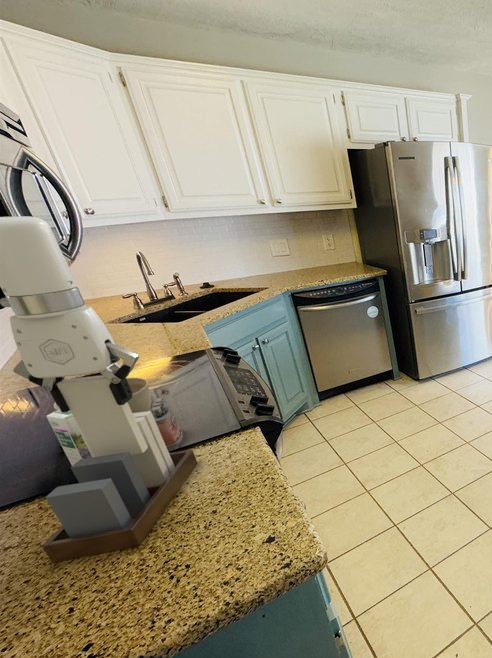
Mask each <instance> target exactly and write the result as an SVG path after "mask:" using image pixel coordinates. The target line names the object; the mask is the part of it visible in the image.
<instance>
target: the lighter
mask: <svg viewBox="0 0 492 658" xmlns="http://www.w3.org/2000/svg"><path fill="white" fill-rule="evenodd" d="M151 407H152V411H153V412H152V415H153V417H154V420H155V422H156V424H157V426H158V429H159V431H160V433H161V436H162V438H163V440H164V443H165V445H166V447H167V450H171V449H174V448H176V447H178V446H179V445H180V443H181V442H182V439H183V436H184V435H183V434H184V433H183V431H182V429H181V428H180V426H179V424H178V422H177V417H176V415H175V413H174V412H173V411H174V410H173V406H172V404H166V401H165V398H164V397H158V398H157V399H156V402H155V403H152V404H151ZM181 434H182V435H181Z"/></svg>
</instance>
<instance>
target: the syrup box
mask: <svg viewBox="0 0 492 658" xmlns="http://www.w3.org/2000/svg"><path fill="white" fill-rule="evenodd" d="M46 419H47V421H48V423H49V424H50V426H51V429H52V430H53V432H54V434H55V436H56V437H57V440H58V442H59V444H60V446H61V447H62V449H63V452H64V454H65V456H66V457H67V459H68V461H69V463H70V465H71V467H72V466H73V465H74V464H75V463H76V462H78V461H79V460H80V459H85V458H92V457H95V456H94V454H93V453H92V451H91V449H90V447H89V445H88V443H87V441H86V439H85V437H84V435H83V433H82V432H81V430H80V428H79V426H78V424H77V422H76V420H75V418H74V416H73V414H72V413H71V411H70V410H69V411H68V412H61V410H58V411H56V410H55V411H53V412H51V413H49V414H47V415H46Z"/></svg>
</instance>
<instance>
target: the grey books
mask: <svg viewBox="0 0 492 658" xmlns="http://www.w3.org/2000/svg"><path fill="white" fill-rule="evenodd" d="M70 469H71V471H72V473H73V475H74V476H75V478H76V480H77V482H78V483H72V484H65V485H60V486H57V487H55V488H54V489H53V490H52V491H51V492H50V493H48V494H47V495H46V496H45V499H46V501H47V502H48V504H49V506H50V508H51V510H52V511H53V513H54V514H55V516H56V518H57V519H58V521H59V523H60V524H61V526H63V527H64V529H65V531H66V532H67V534H68V536H69V537H70V538H74V537H80V536H85V535H90V534H96V533H101V532H107V531H112V530H117V529H123V528H128V527H129V526H130V525H131V524H132V522H133V521H134V519H135V518H136V517H137V516H138V515H139V513H140V512H141V511H142V509H143V508H144V507H145V505H146V504H147V503H148V502H149V500H150V499H151V496H150V494H149V492H148V490H147V488H146V486H145V484H144V482H143V480H142V477H141V475H140V473H139V471H138V469H137V467H136V465H135V463H134V461H133V458H132V456H131V454H130V452H126V453H119V454H112V455H105V456H99V457H92V458H85V459H80V460H79V461H78V462H76V463H75V464H74V465H73V466H72V465H71V467H70Z"/></svg>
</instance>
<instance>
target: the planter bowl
mask: <svg viewBox="0 0 492 658" xmlns="http://www.w3.org/2000/svg"><path fill="white" fill-rule="evenodd" d="M126 379H127V381H128V384H129V386H130V388H131V390H132V399H130V400H129V401H128V402H127V403H128V405H129V407H130V409H131V411H132V413H139V412H147V411H151V409H152V394H151V391H150V387H149V386H150V385H149V381H148V380H147V379H145V378H142V377H126ZM53 409H54V410H55V411H58V410H60V408H59V406H58V405H57V404H56V402H55V401H54V403H53Z"/></svg>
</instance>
